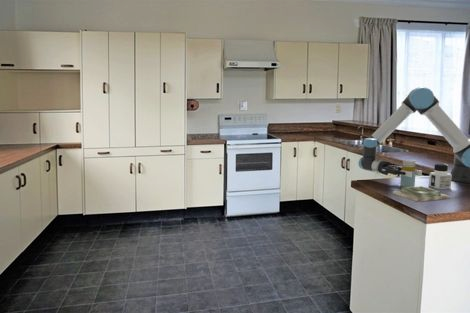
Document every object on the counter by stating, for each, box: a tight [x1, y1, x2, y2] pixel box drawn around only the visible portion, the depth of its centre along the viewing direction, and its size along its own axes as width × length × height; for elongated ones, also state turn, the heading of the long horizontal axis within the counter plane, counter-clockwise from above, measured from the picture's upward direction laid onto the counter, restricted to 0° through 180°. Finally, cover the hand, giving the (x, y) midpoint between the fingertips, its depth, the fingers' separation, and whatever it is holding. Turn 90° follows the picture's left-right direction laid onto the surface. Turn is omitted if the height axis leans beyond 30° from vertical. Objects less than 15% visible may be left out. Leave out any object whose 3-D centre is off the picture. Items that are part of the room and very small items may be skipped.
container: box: [428, 162, 452, 190], centre depth 205 cm, size 8×8×13 cm
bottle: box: [399, 159, 417, 189], centre depth 203 cm, size 7×7×15 cm
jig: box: [392, 185, 451, 203], centre depth 187 cm, size 20×16×3 cm
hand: (416, 174), depth 199 cm, fingers closed on bottle, 7 cm apart
